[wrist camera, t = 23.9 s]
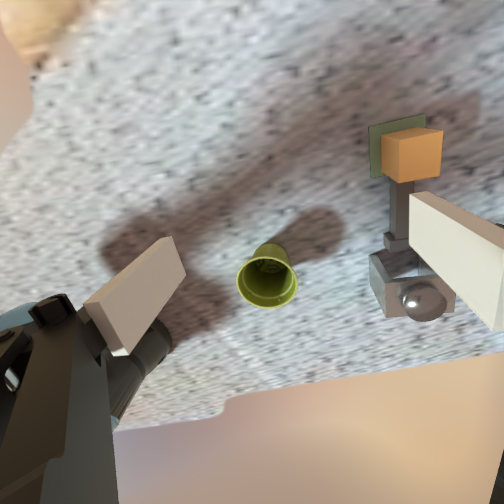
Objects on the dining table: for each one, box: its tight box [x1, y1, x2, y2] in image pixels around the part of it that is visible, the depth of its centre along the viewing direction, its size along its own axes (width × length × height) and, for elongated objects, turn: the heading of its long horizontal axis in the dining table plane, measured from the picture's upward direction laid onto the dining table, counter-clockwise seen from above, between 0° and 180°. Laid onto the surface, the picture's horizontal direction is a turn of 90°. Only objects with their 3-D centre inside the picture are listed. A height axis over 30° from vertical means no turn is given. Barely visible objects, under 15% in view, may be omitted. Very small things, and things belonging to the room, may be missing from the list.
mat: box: [369, 114, 426, 178], centre depth 37 cm, size 7×7×1 cm
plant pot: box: [236, 243, 298, 309], centre depth 44 cm, size 9×9×9 cm
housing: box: [369, 254, 456, 322], centre depth 40 cm, size 9×6×11 cm
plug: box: [381, 127, 444, 253], centre depth 36 cm, size 4×17×7 cm, turn 13°
